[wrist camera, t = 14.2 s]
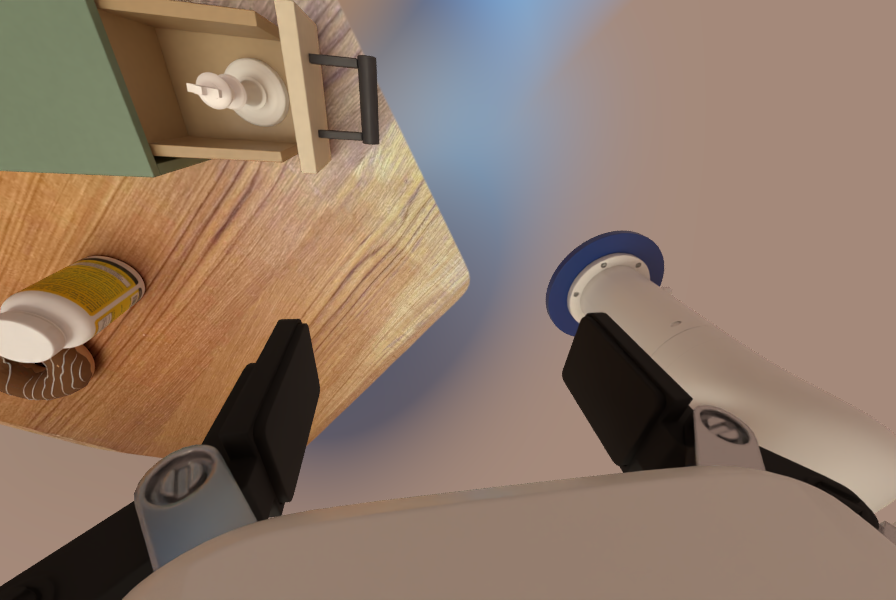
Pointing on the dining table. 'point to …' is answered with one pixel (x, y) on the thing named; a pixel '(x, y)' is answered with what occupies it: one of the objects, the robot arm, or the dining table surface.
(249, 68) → the chess piece
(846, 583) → the robot arm
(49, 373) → the donut
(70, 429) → the dining table surface
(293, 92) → the drawer
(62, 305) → the pill bottle
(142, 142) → the cabinet
